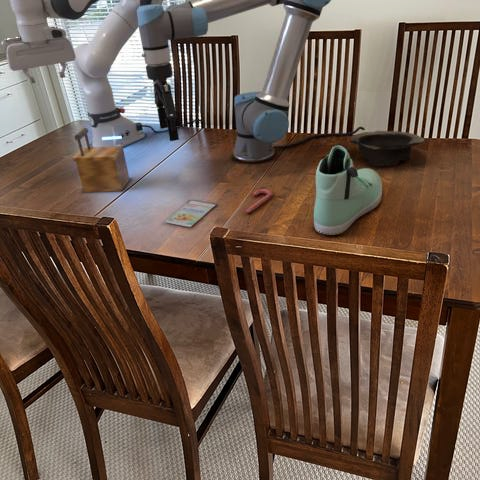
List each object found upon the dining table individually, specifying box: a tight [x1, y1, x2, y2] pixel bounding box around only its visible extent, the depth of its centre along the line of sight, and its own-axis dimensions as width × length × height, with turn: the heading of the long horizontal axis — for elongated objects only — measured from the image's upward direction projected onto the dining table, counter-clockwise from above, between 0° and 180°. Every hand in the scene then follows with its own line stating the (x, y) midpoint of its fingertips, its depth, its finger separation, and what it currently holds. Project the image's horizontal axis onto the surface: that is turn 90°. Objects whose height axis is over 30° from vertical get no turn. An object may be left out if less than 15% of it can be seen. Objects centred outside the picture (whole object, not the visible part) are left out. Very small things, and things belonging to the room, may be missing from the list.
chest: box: [75, 149, 130, 193], centre depth 162 cm, size 13×9×11 cm
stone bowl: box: [349, 130, 426, 167], centre depth 167 cm, size 25×25×9 cm
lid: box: [71, 127, 124, 162], centre depth 157 cm, size 14×9×8 cm, turn 85°
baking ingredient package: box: [164, 200, 216, 228], centre depth 143 cm, size 9×1×15 cm
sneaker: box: [313, 145, 383, 236], centre depth 133 cm, size 14×35×20 cm, turn 152°
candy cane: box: [245, 188, 273, 215], centre depth 146 cm, size 6×15×2 cm, turn 145°
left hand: (48, 80), depth 155 cm, fingers open, 8 cm apart
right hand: (169, 133), depth 151 cm, fingers open, 13 cm apart
